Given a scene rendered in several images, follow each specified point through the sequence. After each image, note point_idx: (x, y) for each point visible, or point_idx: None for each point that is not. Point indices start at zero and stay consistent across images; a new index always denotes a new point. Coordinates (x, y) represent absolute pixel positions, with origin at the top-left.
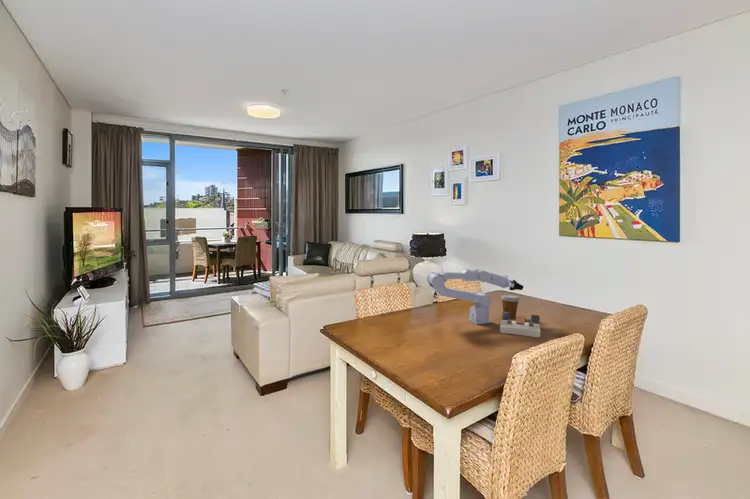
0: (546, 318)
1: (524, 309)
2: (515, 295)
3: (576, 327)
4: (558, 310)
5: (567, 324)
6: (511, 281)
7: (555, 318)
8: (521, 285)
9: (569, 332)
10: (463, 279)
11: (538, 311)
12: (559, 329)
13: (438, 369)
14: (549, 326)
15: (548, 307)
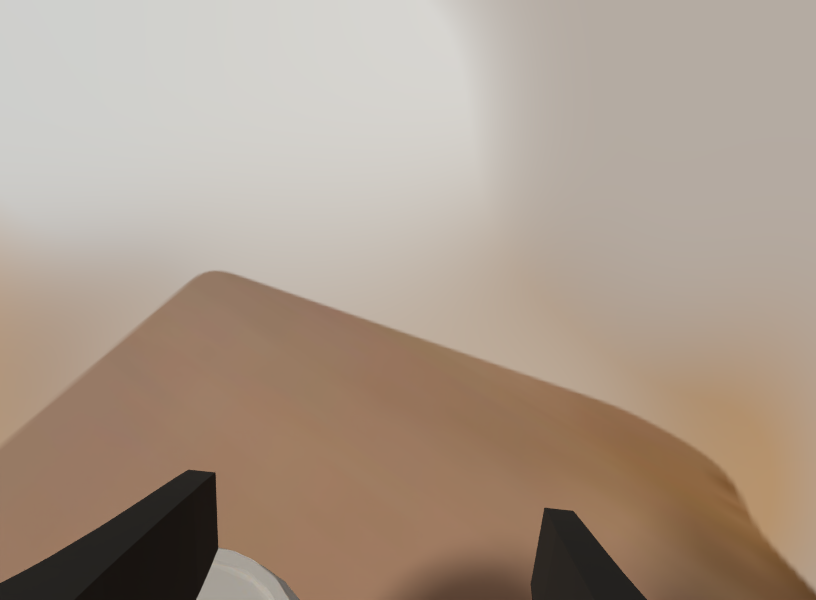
0: (396, 455)
1: (125, 450)
2: None
3: (610, 418)
4: (275, 305)
5: (547, 424)
6: (133, 561)
7: (411, 405)
8: (609, 564)
9: (746, 528)
10: None
11: (229, 398)
12: (681, 549)
13: None
14: None
15: (199, 309)
